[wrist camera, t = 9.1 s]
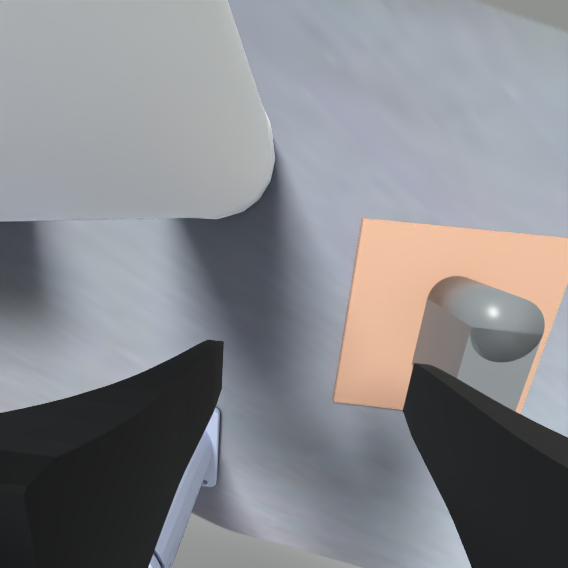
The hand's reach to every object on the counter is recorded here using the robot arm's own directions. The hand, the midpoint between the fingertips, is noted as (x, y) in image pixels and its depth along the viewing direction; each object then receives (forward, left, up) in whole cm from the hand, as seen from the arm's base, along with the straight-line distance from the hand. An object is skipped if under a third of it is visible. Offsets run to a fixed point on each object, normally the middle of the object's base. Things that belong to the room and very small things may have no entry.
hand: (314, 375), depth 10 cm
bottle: (-7, +9, -10) cm, 15 cm away
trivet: (+10, -1, -10) cm, 14 cm away
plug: (+10, -1, -9) cm, 14 cm away
